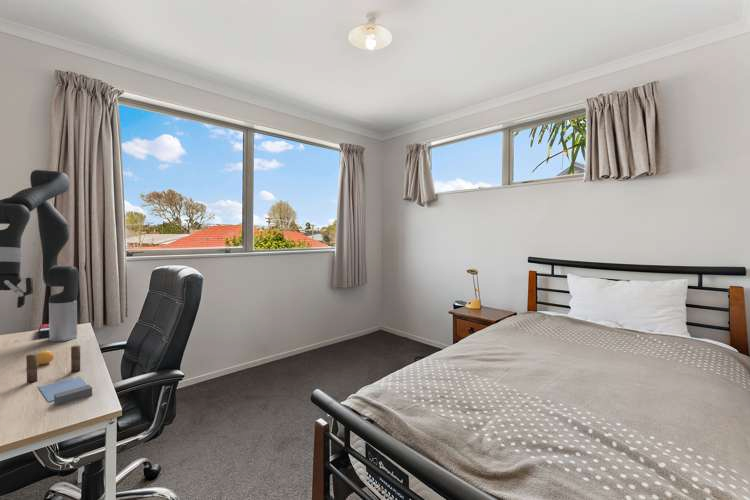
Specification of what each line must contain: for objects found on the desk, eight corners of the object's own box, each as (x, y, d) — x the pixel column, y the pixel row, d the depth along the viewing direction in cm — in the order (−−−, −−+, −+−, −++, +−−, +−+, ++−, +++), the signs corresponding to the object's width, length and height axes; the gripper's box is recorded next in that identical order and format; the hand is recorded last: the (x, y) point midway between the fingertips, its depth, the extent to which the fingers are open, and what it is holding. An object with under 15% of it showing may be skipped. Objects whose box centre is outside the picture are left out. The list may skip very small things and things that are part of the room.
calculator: (71, 320, 165) (71, 325, 154) (71, 328, 165) (71, 334, 154) (40, 324, 158) (38, 329, 147) (40, 332, 158) (38, 339, 147)
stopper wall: (54, 402, 96) (54, 394, 95) (89, 392, 102) (89, 384, 102) (56, 406, 94) (56, 397, 94) (92, 395, 100) (92, 387, 100)
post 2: (70, 371, 116) (70, 346, 116) (79, 369, 118) (79, 344, 118) (72, 373, 115) (72, 348, 114) (81, 370, 117) (81, 346, 116)
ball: (33, 364, 121) (33, 350, 120) (52, 360, 125) (52, 347, 124) (36, 367, 118) (36, 354, 117) (55, 363, 122) (55, 350, 122)
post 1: (26, 381, 107) (25, 355, 107) (36, 379, 109) (36, 353, 109) (27, 383, 106) (27, 356, 105) (38, 381, 108) (37, 354, 107)
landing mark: (38, 387, 104) (38, 387, 104) (79, 377, 112) (79, 376, 112) (48, 402, 96) (48, 401, 96) (91, 389, 104) (91, 389, 104)
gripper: (36, 261, 119) (33, 306, 117) (-23, 261, 110) (-27, 309, 109) (31, 260, 113) (28, 307, 111) (-33, 260, 104) (-37, 311, 103)
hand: (1, 308), depth 110 cm, fingers open, 8 cm apart
